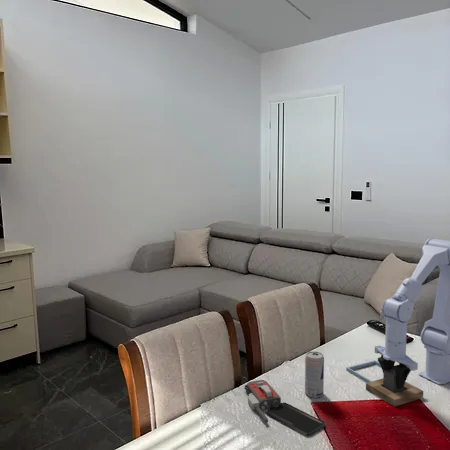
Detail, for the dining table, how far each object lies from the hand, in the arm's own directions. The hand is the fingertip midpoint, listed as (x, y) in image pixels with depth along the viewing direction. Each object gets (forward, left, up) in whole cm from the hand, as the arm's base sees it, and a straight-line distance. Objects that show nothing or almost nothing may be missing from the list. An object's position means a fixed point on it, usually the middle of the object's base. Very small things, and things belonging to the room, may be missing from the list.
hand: (394, 384), depth 133 cm
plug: (0, 0, -2) cm, 2 cm away
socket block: (0, 0, -3) cm, 3 cm away
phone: (+34, -1, -3) cm, 34 cm away
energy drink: (+21, -10, -3) cm, 24 cm away
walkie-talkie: (+37, -12, -3) cm, 39 cm away
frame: (-4, -12, -3) cm, 13 cm away
